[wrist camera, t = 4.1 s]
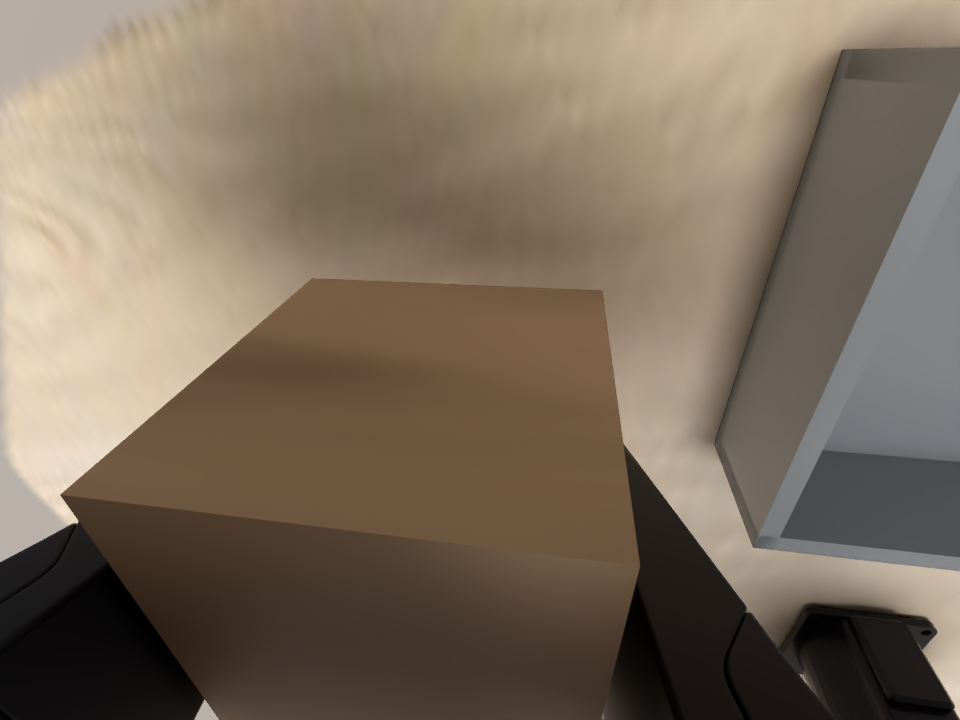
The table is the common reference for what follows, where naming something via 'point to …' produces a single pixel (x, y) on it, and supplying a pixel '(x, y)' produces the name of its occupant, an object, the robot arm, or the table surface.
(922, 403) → the tote
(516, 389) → the cube
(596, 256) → the table surface
